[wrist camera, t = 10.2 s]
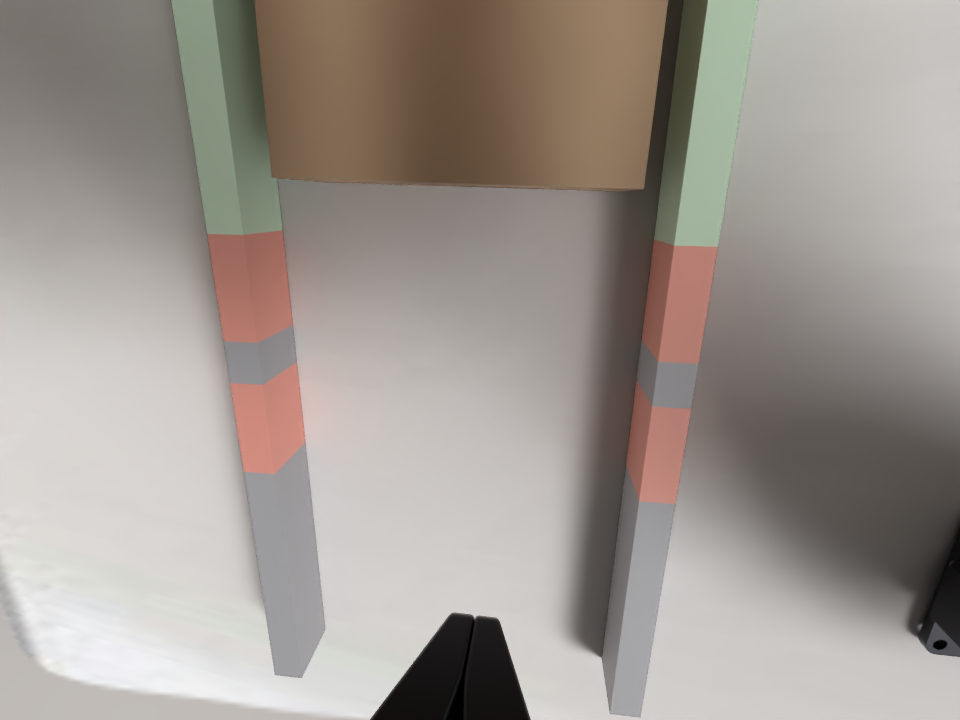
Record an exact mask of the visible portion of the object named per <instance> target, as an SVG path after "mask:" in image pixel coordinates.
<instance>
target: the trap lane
mask: <svg viewBox="0 0 960 720" xmlns="http://www.w3.org/2000/svg"><path fill="white" fill-rule="evenodd" d="M758 1H759V0H684V2H683V10H682V18H681V26H680V34H679V42H678V50H677V58H676V66H675V74H674V82H673V91H672V99H671V107H670V115H669V123H668V131H667V139H666V147H665V155H664V163H663V171H662V179H661V187H660V195H659V203H658V211H657V219H656V227H655V235H654V243H653V251H652V259H651V268H650V276H649V284H648V292H647V300H646V308H645V316H644V324H643V332H642V340H641V348H640V356H639V364H638V372H637V380H636V388H635V396H634V404H633V412H632V420H631V428H630V437H629V445H628V453H627V461H626V469H625V477H624V485H623V493H622V501H621V509H620V517H619V525H618V533H617V541H616V549H615V557H614V565H613V573H612V581H611V589H610V597H609V605H608V614H607V622H606V630H605V638H604V646H603V654H602V663H603V670H604V677H605V684H606V691H607V697H608V704H609V711H610V714H615V715H623V716H632V717H641V711H642V705H643V698H644V692H645V686H646V680H647V674H648V668H649V662H650V656H651V650H652V644H653V638H654V632H655V626H656V620H657V614H658V608H659V601H660V595H661V589H662V583H663V577H664V571H665V565H666V559H667V553H668V547H669V541H670V535H671V529H672V523H673V517H674V511H675V504H676V498H677V492H678V486H679V480H680V474H681V468H682V462H683V456H684V450H685V444H686V438H687V432H688V426H689V420H690V414H691V407H692V401H693V395H694V389H695V383H696V377H697V371H698V365H699V359H700V353H701V347H702V341H703V335H704V329H705V323H706V317H707V310H708V304H709V298H710V292H711V286H712V280H713V274H714V268H715V262H716V256H717V250H718V244H719V238H720V232H721V226H722V220H723V213H724V207H725V201H726V195H727V189H728V183H729V177H730V171H731V165H732V159H733V153H734V147H735V141H736V135H737V129H738V123H739V116H740V110H741V104H742V98H743V92H744V86H745V80H746V74H747V68H748V62H749V56H750V50H751V44H752V38H753V32H754V26H755V20H756V13H757V7H758ZM171 3H172V9H173V16H174V22H175V29H176V35H177V42H178V48H179V55H180V61H181V68H182V74H183V81H184V87H185V94H186V100H187V107H188V113H189V120H190V126H191V133H192V139H193V146H194V152H195V159H196V165H197V172H198V178H199V185H200V191H201V197H202V204H203V210H204V217H205V223H206V230H207V236H208V243H209V249H210V256H211V262H212V269H213V275H214V282H215V288H216V295H217V301H218V308H219V314H220V321H221V327H222V334H223V340H224V347H225V353H226V360H227V366H228V373H229V379H230V386H231V392H232V399H233V405H234V412H235V418H236V425H237V431H238V438H239V444H240V451H241V457H242V464H243V470H244V477H245V483H246V490H247V496H248V503H249V509H250V516H251V522H252V529H253V535H254V542H255V548H256V555H257V561H258V568H259V574H260V581H261V587H262V594H263V600H264V607H265V613H266V620H267V626H268V633H269V639H270V646H271V652H272V659H273V665H274V672H275V675H280V676H288V677H297V678H302V676H303V674H304V672H305V670H306V668H307V666H308V664H309V662H310V660H311V658H312V656H313V654H314V652H315V650H316V648H317V646H318V644H319V642H320V639H321V637H322V635H323V633H324V631H325V622H324V613H323V604H322V594H321V585H320V575H319V566H318V557H317V547H316V538H315V529H314V519H313V510H312V500H311V491H310V482H309V472H308V463H307V454H306V444H305V435H304V426H303V416H302V407H301V397H300V388H299V379H298V369H297V360H296V351H295V341H294V332H293V322H292V313H291V304H290V294H289V285H288V276H287V266H286V257H285V248H284V238H283V229H282V219H281V210H280V201H279V191H278V182H277V178H272V176H271V166H270V155H269V145H268V135H267V124H266V114H265V104H264V94H263V83H262V73H261V63H260V52H259V42H258V32H257V22H256V11H255V1H254V0H171Z"/></svg>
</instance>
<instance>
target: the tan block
mask: <svg viewBox="0 0 960 720" xmlns="http://www.w3.org/2000/svg"><path fill="white" fill-rule="evenodd" d="M254 1H255V11H256V22H257V32H258V42H259V52H260V63H261V73H262V83H263V94H264V104H265V114H266V124H267V135H268V145H269V155H270V166H271V176H272V178H281V179H292V180H304V181H316V182H329V183H362V184H394V185H426V186H459V187H491V188H524V189H556V190H589V191H629V190H639V189H644V184H645V176H646V169H647V161H648V153H649V145H650V138H651V130H652V122H653V115H654V107H655V99H656V91H657V84H658V76H659V68H660V61H661V53H662V45H663V37H664V30H665V22H666V14H667V7H668V0H254Z"/></svg>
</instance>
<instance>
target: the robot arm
mask: <svg viewBox="0 0 960 720" xmlns="http://www.w3.org/2000/svg"><path fill="white" fill-rule="evenodd" d="M919 641H920V642H921V644H922V645H923V646H924V647H925V648H926V649H927V650H928V651H929V652H930V653H933V654H937V655H947V656H957V657H960V529H959V532H958V535H957V537H956V540H955V542H954V545H953V548H952V550H951V553H950V555H949V558H948V561H947V563H946V566H945V568H944V571H943V574H942V576H941V579H940V581H939V584H938V587H937V589H936V592H935V594H934V597H933V600H932V602H931V605H930V607H929V610H928V613H927V615H926V618H925V620H924V623H923V626H922V628H921V631H920V633H919ZM370 720H531V719H530V716H529V713H528V710H527V707H526V704H525V700H524V697H523V694H522V691H521V688H520V684H519V681H518V678H517V675H516V672H515V669H514V665H513V662H512V659H511V656H510V653H509V650H508V646H507V643H506V640H505V637H504V634H503V631H502V627H501V624H500V622H499V620H498V619H497V618H494V617H486V616H477V617H476V618H475V619H474V617H473V616H472V615H470V614H462V613H452V614H450V615H449V616H448V618H447V619H446V620H445V622H444V623H443V624H442V626H441V627H440V628H439V630H438V631H437V632H436V633H435V635H434V636H433V637H432V639H431V640H430V641H429V643H428V644H427V645H426V647H425V648H424V649H423V651H422V652H421V653H420V655H419V656H418V657H417V658H416V660H415V661H414V662H413V664H412V665H411V666H410V668H409V669H408V670H407V672H406V673H405V674H404V676H403V677H402V678H401V680H400V681H399V682H398V684H397V685H396V686H395V687H394V689H393V690H392V691H391V693H390V694H389V695H388V697H387V698H386V699H385V701H384V702H383V703H382V705H381V706H380V707H379V709H378V710H377V711H376V712H375V714H374V715H373V716H372V718H371V719H370Z"/></svg>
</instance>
